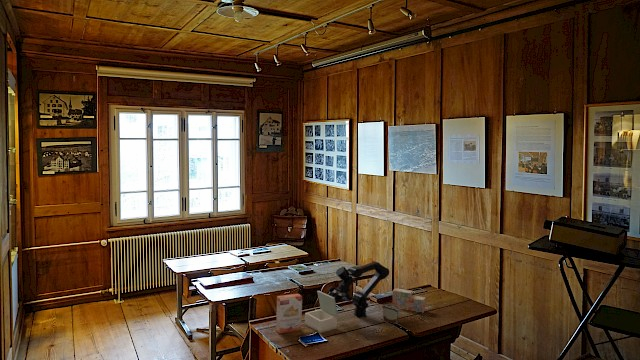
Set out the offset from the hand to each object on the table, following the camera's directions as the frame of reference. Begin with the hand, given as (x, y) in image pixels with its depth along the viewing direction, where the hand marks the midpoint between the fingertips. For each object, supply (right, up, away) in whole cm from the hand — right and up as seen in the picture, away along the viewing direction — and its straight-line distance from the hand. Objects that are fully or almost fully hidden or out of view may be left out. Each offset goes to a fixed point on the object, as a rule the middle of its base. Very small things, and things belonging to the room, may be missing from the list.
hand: (331, 304), depth 279 cm
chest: (-7, -12, -4) cm, 14 cm away
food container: (+38, -12, +6) cm, 41 cm away
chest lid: (-3, +1, -2) cm, 4 cm away
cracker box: (-25, -12, -11) cm, 30 cm away
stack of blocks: (+53, -11, +29) cm, 62 cm away
